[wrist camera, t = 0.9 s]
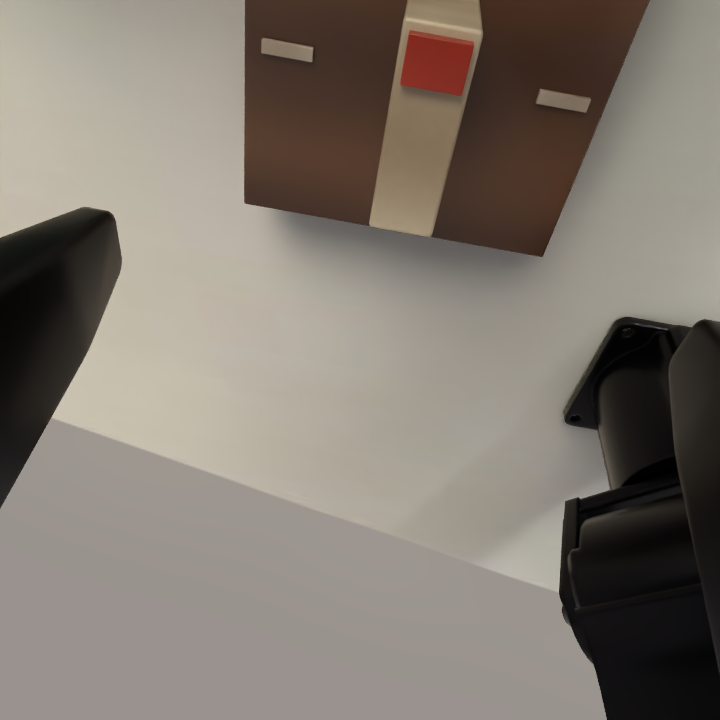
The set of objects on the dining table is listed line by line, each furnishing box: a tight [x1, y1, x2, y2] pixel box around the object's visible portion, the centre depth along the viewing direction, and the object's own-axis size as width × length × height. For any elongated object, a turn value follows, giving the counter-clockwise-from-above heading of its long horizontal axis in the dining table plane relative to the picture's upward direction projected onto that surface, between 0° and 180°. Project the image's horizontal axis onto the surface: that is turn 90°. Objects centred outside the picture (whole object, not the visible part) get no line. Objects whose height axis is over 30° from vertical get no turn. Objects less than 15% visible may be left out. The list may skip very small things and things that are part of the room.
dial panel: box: [244, 0, 650, 257], centre depth 18 cm, size 10×10×3 cm
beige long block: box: [369, 0, 483, 237], centre depth 15 cm, size 5×2×4 cm, turn 172°
